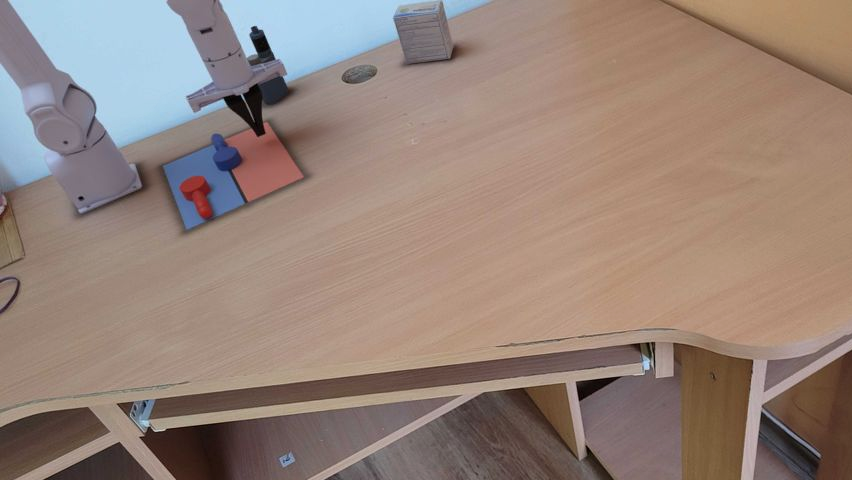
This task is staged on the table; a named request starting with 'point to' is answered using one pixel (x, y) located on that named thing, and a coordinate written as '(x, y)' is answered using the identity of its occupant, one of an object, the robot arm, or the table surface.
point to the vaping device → (277, 85)
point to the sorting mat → (234, 174)
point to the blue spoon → (225, 154)
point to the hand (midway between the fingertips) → (260, 132)
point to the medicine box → (423, 31)
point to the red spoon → (197, 194)
